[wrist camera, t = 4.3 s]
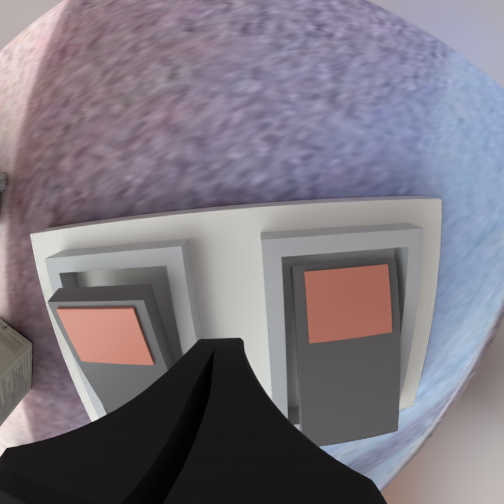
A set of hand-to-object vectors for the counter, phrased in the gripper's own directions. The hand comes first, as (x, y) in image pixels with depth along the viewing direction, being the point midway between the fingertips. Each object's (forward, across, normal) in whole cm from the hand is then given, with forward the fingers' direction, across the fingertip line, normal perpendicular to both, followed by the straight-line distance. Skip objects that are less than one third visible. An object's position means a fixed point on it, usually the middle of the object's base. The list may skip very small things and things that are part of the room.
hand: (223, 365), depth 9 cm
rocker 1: (+4, +6, +3) cm, 8 cm away
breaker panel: (+8, 0, +3) cm, 9 cm away
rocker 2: (+4, -5, +3) cm, 7 cm away
